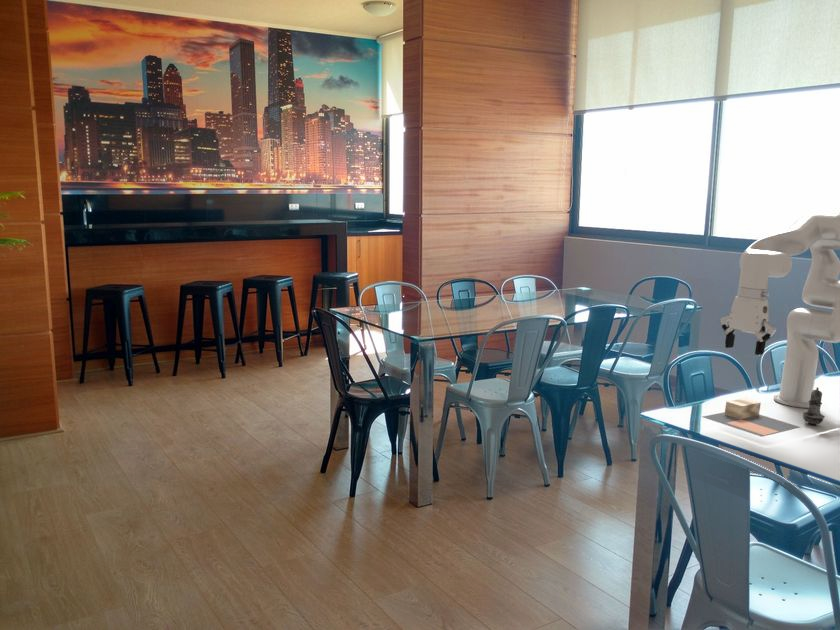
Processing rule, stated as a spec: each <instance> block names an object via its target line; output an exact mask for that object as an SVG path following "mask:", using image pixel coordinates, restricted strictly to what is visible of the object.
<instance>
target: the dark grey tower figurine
mask: <svg viewBox="0 0 840 630" xmlns="http://www.w3.org/2000/svg"><path fill="white" fill-rule="evenodd" d="M822 396H823V392H822V391H820V390H819V386H818V387H816V389H813V391H812V393H811V399H810V401H809V408H807V410H806V411H803V412H802V418H803V420H804V422H805V423H807V425H809V426H812V427H816V426H817V425H819V424H821V423H822V422H823V420H824V419H825V415H824V414H822V412H821V405H823V402H822Z"/></svg>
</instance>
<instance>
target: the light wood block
mask: <svg viewBox="0 0 840 630" xmlns="http://www.w3.org/2000/svg"><path fill="white" fill-rule="evenodd" d="M761 405H762V404H761V402H760V401H756V400H754V399H750V398H747V397H744V398H740V399H735V400H729V401H726V403H725V409H724V412H725V415H728V416H731V417H734V418H737V419H743V418H748V417H753V416H758V415H759V414H760V410H761Z"/></svg>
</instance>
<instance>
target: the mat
mask: <svg viewBox="0 0 840 630" xmlns="http://www.w3.org/2000/svg"><path fill="white" fill-rule="evenodd" d="M702 418H704V419H707V420H709V421H712V422H715V423H720V424H722V425H725V426H728V427H731V428H735V429H737V430H740V431H743V432H745V433H746V432H747V433H750V434H753V435H755V436H759V437H766V436H769V435H770V436H771V435H775V434H779V433H782V432H783V433H784V432H786V431H790V430H791V431H792V430H796V429H799V428H801V426H799V425H795V424H792V423H789V422H785V421H784V420H783V421H782V420H779V419H775V418H773V417H769V416H766V415H763V414H760V413H759V415H758V416H753V417H748V418H743V419H737V418H734V417H731V416H728V415H725V411H724V412H719V413H714V414H713V413H712V414H709V415H703V416H702Z"/></svg>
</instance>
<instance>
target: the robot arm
mask: <svg viewBox="0 0 840 630" xmlns="http://www.w3.org/2000/svg"><path fill="white" fill-rule="evenodd" d="M808 250H809V251H810V253H811V264H810V268H809V271H808V274H807V278H806V280H805V283H804V285H803V289H802V292H801V300H802V301H803V303H805V304H806V305H809V306H812V307H816V308H817V307H818V308H824V309H829V310H832V311H828V310H827V311H826V310H821V309H815V308H808V307H797V308H794V309H793V310H791V311H790V312H789V313H788V315H787V319H786V331H787V332H786V333H787V335H786V336H787V337H786V339H787V340H786V348H785V355H784V362H783V368H782V374H781V375H782V376H781V381H780V382H781V383H780V390H779V393H778V394H775V395H774V396H773V400H774V401H775V402H776V403H779V404H782V405H786V406H789V407H794V408H795V407H796V408H803V409H804V408H805V409H809V401H810V399H811V393H812V391H813V390H814V388H815V387H814V385H815V379H816V375H817V374H816V373H817V369H818V368H817V367H818V361H819V348H818V346H817V344H816V342H815V340H816V341H821V342H825V343H830V344H831V343H833V344H838V343H840V279H839V275H840V258H839V257H838V255H837V254H836V252H835V250H836V251H840V212H829V211H828V212H825V211H810V212H807V213H806V214H804V215H802V216H801V217H800V218H799V219H798V220H796V221H795V223H793V224H792V225H791V226H790V227H788V228H787V229H786V230H785V231H784V230H783V231H781V232H778V233H775V234H771V235H769V236H765V237H761V238H759V239H758V240H755V241H754V242H752V244H750V245H749V246H748V247H747V248H746V249H744V251H743V253H742V254H740V259H739V268H740V274H739V283H738V289H737V295H736V296H735V297H734V300H733V302H732V306H731V310H730V314H729V315H725V316H723V317H720V324H721V327H722V329H723V331H724V334H725V342H724V345H725V348H726V349H729V348H734V345H735V337H736V335H735V334H734V333H736V331H739V332H742V333H748V334H754V335H755V336H756V338H757V339H758V340H757V341H756V343H755V349H754V350H755V351H754V355H756V356H759V355H764V352H765V348H766V342H767V341H769V340H770V339H771V338H772V337H773V335H774V334H775V333H776V332H777V328H776V327H775V326H774V325H773V324H772V323H770V322H769V319H770V318H769V317H770V315H769V313H770V312H769V311H770V309H769V301H768V299H767V298H769V297H770V294H771V293H770V292H768V291H767V290H768V282H769V278H776V279H777V278H779V279H780V278H783V277H785V276H787V275H788V274H789V273H790V272H791V271H792V268H793V261H792V258H791V257H793V256H797V255H802V254H803V253H805V252H806V251H808Z"/></svg>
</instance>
